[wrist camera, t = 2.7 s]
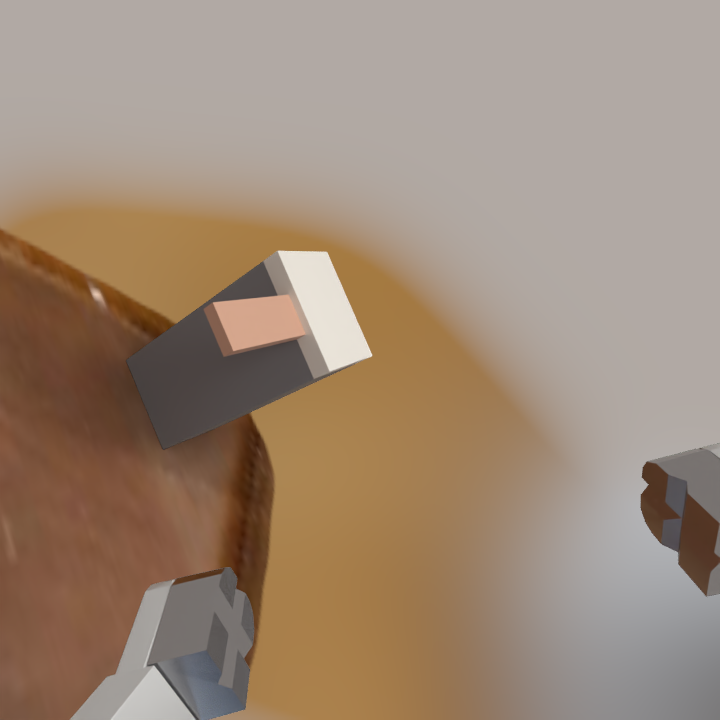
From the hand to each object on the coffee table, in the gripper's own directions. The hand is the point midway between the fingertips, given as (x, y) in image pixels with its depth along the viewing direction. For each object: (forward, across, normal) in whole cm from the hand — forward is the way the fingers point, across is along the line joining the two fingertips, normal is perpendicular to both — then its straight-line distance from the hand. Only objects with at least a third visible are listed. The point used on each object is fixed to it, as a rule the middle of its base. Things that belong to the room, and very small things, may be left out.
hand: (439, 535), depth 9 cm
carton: (+47, +26, +18) cm, 57 cm away
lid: (+34, +7, +7) cm, 35 cm away
